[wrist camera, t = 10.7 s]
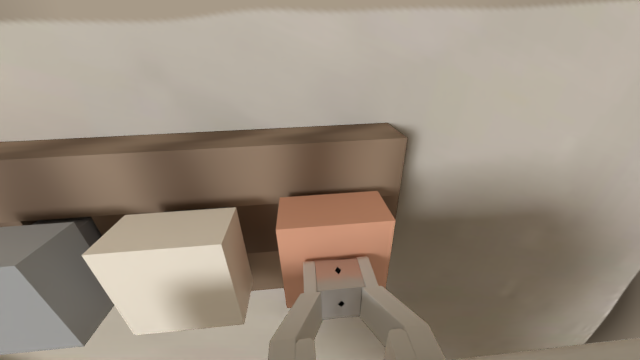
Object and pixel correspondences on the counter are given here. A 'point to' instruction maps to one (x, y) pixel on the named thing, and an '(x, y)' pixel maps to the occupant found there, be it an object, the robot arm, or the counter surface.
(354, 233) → the terracotta key
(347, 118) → the counter surface
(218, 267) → the ivory key
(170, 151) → the keypad board
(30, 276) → the slate key
